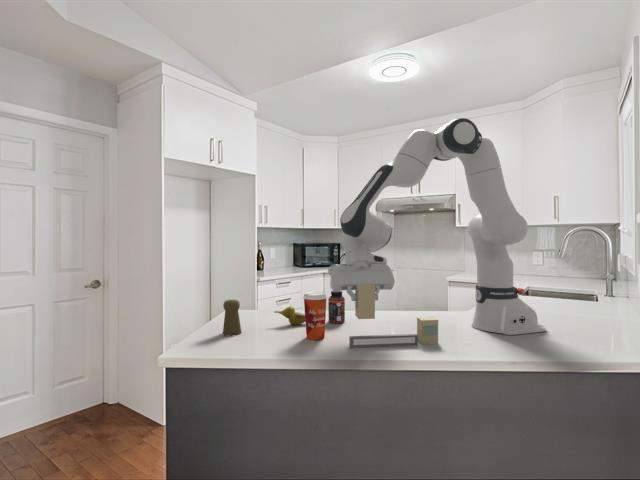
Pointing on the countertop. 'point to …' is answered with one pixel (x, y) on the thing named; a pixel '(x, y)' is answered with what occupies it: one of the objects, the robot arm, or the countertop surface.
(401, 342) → the rail
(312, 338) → the paper cup
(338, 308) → the supplement bottle
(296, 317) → the yellow toy bird
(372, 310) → the tan rectangular block
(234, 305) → the cork
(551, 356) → the countertop surface
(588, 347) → the countertop surface
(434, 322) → the tea box
